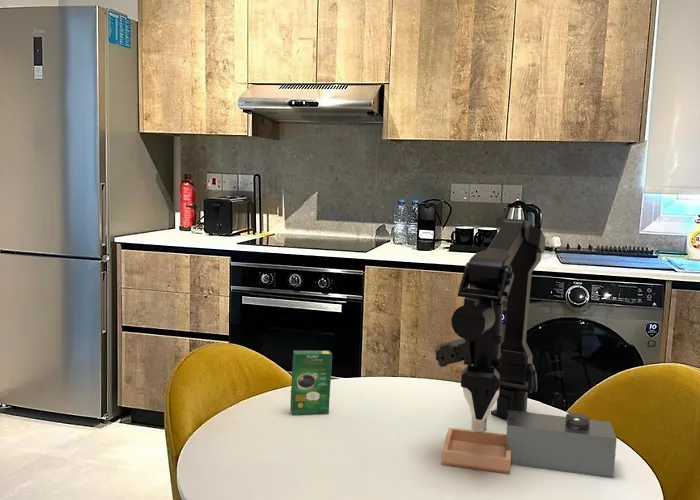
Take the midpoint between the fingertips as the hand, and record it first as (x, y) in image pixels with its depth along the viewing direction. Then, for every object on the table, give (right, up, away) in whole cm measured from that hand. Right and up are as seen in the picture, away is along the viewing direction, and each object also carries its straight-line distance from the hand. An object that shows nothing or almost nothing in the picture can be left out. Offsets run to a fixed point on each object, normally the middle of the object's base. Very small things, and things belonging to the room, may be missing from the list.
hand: (479, 413), depth 120 cm
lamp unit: (+14, -9, 0) cm, 16 cm away
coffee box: (-32, -5, +20) cm, 38 cm away
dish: (0, -8, +1) cm, 8 cm away
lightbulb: (0, -4, 0) cm, 4 cm away
